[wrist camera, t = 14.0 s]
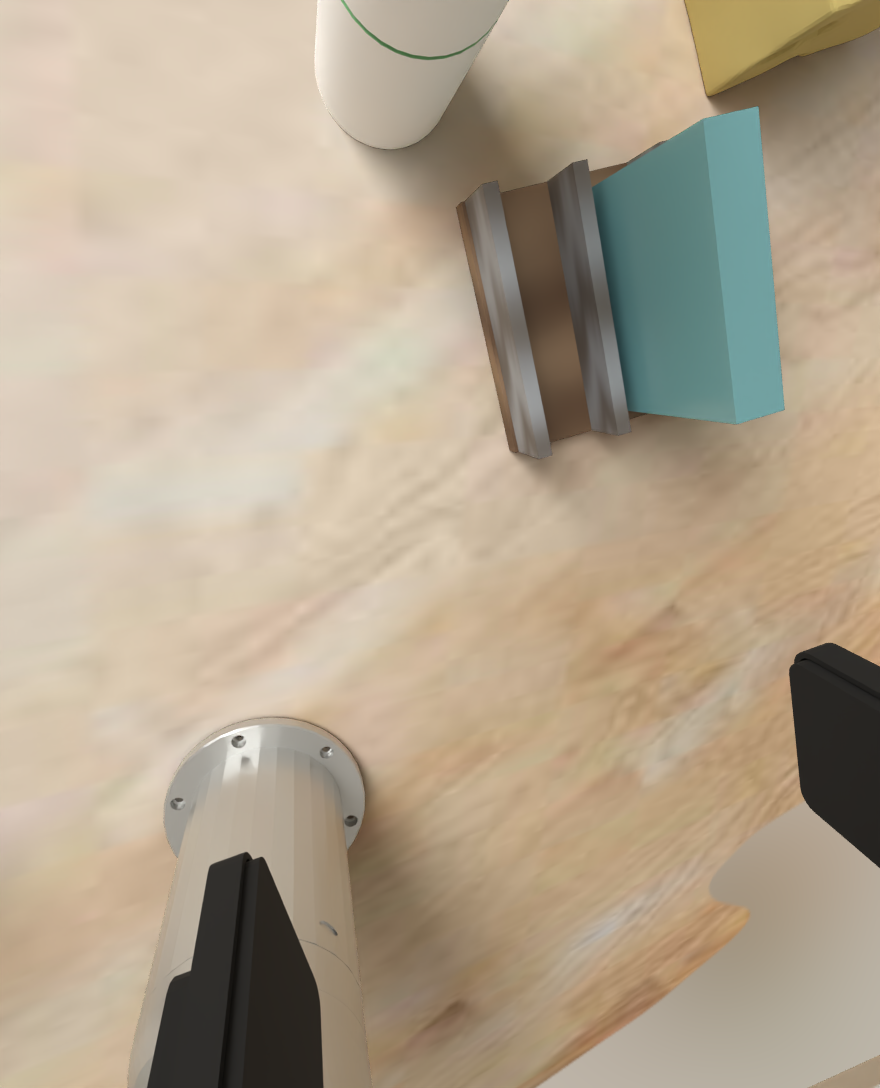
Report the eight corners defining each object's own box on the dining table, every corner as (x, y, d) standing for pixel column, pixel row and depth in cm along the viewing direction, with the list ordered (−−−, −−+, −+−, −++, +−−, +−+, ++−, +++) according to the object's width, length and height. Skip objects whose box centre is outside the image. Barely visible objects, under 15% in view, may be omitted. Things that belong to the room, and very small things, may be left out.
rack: (733, 384, 43) (783, 386, 38) (509, 450, 41) (535, 460, 36) (706, 147, 38) (760, 118, 34) (456, 207, 36) (478, 185, 32)
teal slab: (647, 398, 40) (784, 409, 29) (612, 408, 40) (736, 424, 29) (615, 187, 37) (758, 105, 25) (576, 196, 36) (702, 118, 25)
